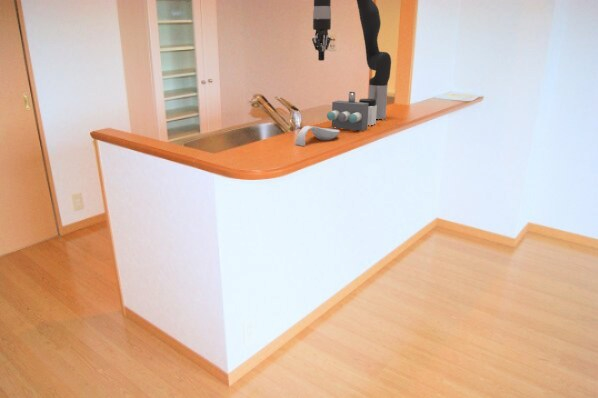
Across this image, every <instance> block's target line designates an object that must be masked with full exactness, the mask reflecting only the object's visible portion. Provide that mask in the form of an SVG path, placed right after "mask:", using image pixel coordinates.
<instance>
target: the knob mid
mask: <svg viewBox="0 0 598 398" xmlns="http://www.w3.org/2000/svg"><path fill="white" fill-rule="evenodd" d="M349 115H350V112H348V111H345V112H342V113H339V114H338V120H339V121H341V122H343V121H346V120H349Z"/></svg>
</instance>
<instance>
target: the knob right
mask: <svg viewBox="0 0 598 398" xmlns="http://www.w3.org/2000/svg"><path fill="white" fill-rule="evenodd" d="M361 119H362V115H361V113H359V112H356V113H353V114H350V115H349V121H350V122H351V123H355V122H357V121H360V120H361Z"/></svg>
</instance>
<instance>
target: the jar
mask: <svg viewBox="0 0 598 398" xmlns="http://www.w3.org/2000/svg"><path fill="white" fill-rule="evenodd" d="M358 102H362V103H369V104H368V124H367V125H373V126H375V125H374V124H376V125H377V120H376V114H377V105H376V99H368V98H360V99H359V100H358Z"/></svg>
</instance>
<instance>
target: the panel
mask: <svg viewBox="0 0 598 398" xmlns="http://www.w3.org/2000/svg"><path fill="white" fill-rule="evenodd" d="M368 104H369V103H362V102H359V101H355V102H354V103H350V102H349V100H339V99H338V100H334V101H332V104H331V109H332V110H331V111H334V110H338V111H339V112H340V113H342V112H345V111H348V112H350V114H353V113H356V112H359V113H361V115H362V119H361V120H360V121H357V122H355V123H351V122H350V121H349V120H346V121H343V122H341V121H339V120H338V119H335V120H331V128H332V127H336V128H335V129H338V128H343V129H342V130H347V129H351V130H350V131H356V130H359V131H358V132H363V130H364V131H365V129H366V130H368V126H367V124H368Z"/></svg>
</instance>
